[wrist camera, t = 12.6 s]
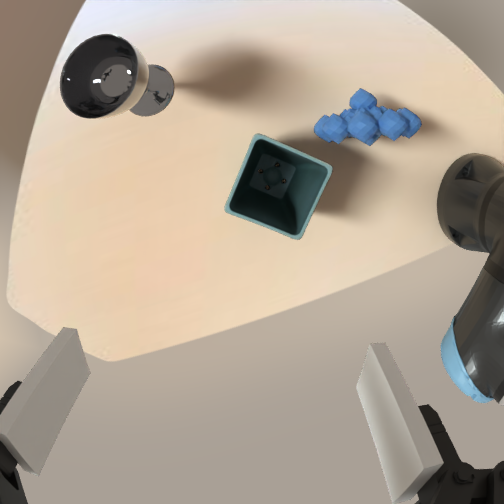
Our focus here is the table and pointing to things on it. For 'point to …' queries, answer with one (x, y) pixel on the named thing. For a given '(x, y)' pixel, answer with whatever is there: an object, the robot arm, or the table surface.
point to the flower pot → (278, 187)
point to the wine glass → (113, 80)
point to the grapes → (367, 121)
